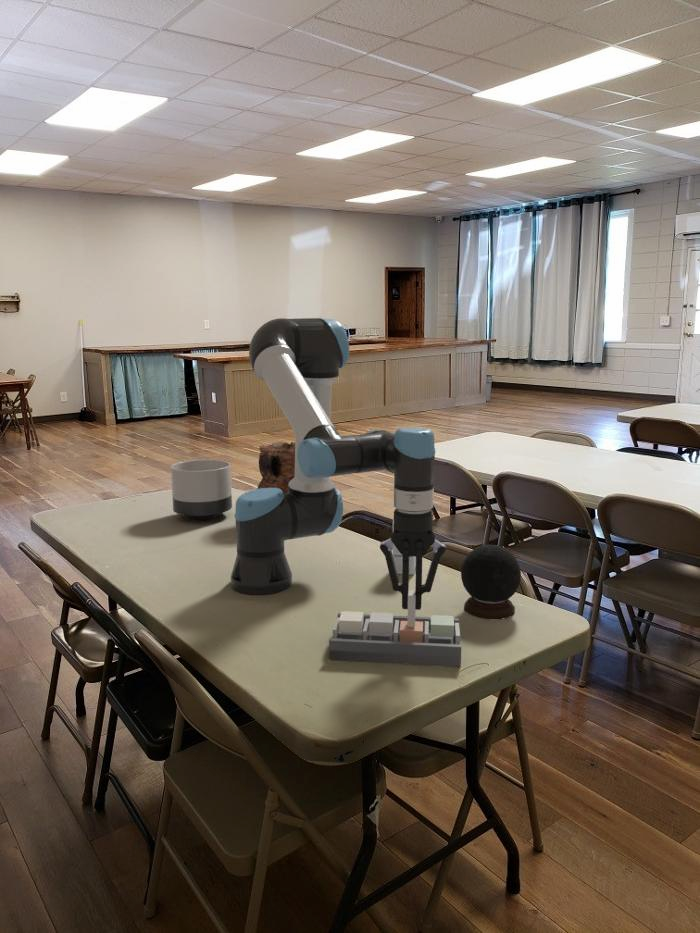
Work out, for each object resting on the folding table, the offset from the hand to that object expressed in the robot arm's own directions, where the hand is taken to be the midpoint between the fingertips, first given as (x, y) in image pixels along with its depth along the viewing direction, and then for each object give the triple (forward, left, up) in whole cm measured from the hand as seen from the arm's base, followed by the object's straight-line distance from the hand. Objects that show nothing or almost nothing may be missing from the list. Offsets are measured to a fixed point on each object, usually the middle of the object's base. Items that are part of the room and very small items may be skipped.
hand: (411, 623), depth 139 cm
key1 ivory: (-12, 0, -1) cm, 12 cm away
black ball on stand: (+17, +21, -5) cm, 28 cm away
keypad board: (-3, -1, -5) cm, 6 cm away
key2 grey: (-6, 0, -1) cm, 6 cm away
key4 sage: (+6, 0, -1) cm, 6 cm away
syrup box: (-3, +44, -5) cm, 44 cm away
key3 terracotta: (0, 0, -3) cm, 3 cm away
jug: (-43, +90, -5) cm, 100 cm away
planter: (-72, +89, -5) cm, 114 cm away
